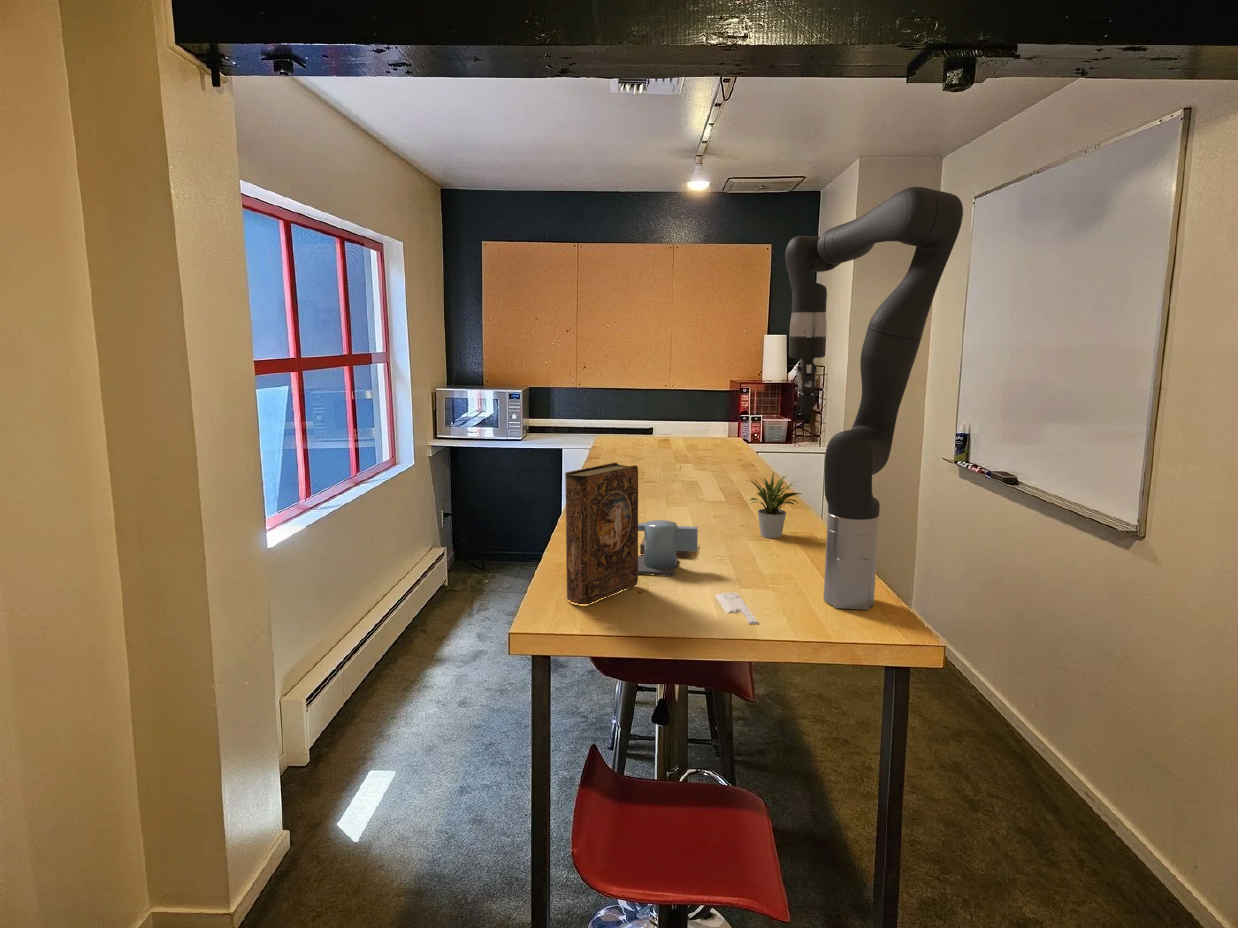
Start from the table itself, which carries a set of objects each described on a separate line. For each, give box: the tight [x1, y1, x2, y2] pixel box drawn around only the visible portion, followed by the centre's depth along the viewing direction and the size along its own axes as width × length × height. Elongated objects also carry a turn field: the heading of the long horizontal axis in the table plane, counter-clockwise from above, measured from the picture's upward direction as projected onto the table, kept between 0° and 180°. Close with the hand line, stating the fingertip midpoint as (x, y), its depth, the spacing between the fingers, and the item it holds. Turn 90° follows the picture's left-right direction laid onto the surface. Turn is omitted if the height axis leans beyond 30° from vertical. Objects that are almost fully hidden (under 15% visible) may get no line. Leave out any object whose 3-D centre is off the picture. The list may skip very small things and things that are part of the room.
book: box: [564, 462, 639, 604], centre depth 147 cm, size 16×6×25 cm, turn 141°
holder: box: [639, 537, 690, 558], centre depth 179 cm, size 11×11×2 cm
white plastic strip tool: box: [714, 592, 759, 625], centre depth 141 cm, size 5×15×1 cm, turn 5°
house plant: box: [746, 472, 802, 539], centre depth 189 cm, size 14×14×16 cm
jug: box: [638, 519, 699, 569], centre depth 164 cm, size 13×7×9 cm, turn 81°
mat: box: [638, 555, 679, 577], centre depth 165 cm, size 11×11×1 cm
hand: (804, 411), depth 161 cm, fingers open, 8 cm apart
